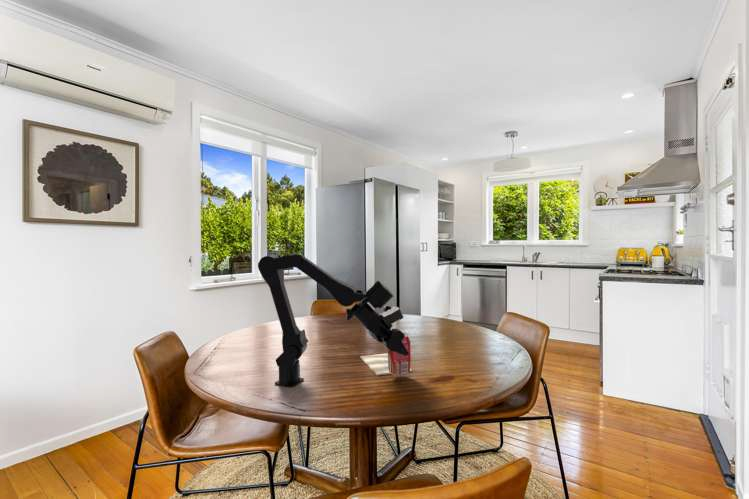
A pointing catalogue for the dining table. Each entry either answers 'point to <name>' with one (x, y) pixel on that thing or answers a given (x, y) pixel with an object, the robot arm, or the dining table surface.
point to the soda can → (400, 359)
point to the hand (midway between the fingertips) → (403, 351)
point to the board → (377, 363)
